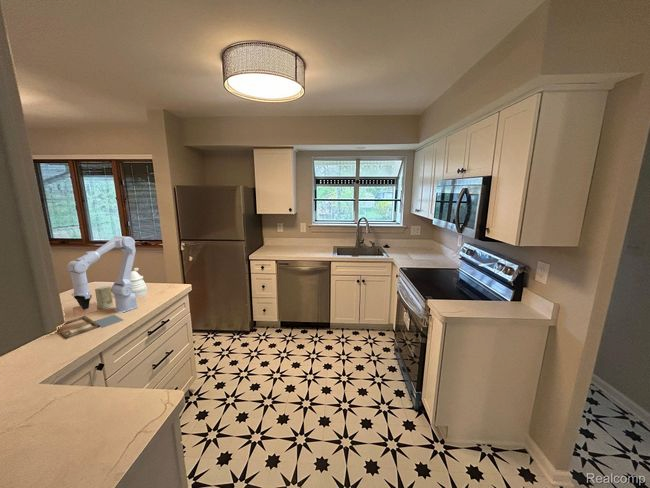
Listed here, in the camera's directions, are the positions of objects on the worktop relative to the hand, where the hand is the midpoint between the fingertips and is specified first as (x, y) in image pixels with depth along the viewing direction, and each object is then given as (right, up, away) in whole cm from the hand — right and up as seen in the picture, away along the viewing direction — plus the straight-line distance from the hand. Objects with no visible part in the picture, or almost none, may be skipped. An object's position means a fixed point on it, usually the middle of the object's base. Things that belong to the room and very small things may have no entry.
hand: (84, 308), depth 138 cm
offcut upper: (+3, -10, -5) cm, 11 cm away
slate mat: (+8, -9, +5) cm, 13 cm away
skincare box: (-8, -5, +23) cm, 25 cm away
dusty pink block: (0, -3, +1) cm, 3 cm away
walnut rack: (-2, -10, -2) cm, 10 cm away
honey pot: (-3, -1, +41) cm, 42 cm away
